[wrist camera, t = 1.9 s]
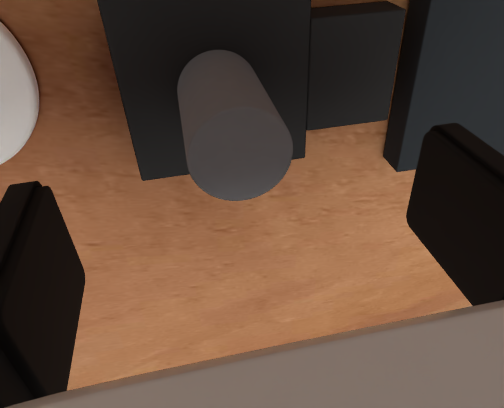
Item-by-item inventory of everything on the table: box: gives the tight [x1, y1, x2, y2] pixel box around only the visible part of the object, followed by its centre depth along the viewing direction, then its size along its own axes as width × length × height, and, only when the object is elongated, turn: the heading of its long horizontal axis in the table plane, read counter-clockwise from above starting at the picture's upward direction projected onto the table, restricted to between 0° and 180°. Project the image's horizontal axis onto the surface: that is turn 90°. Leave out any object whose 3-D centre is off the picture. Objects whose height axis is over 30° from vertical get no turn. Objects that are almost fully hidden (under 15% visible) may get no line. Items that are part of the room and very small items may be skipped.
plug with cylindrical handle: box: [97, 0, 406, 201], centre depth 14 cm, size 11×7×6 cm, turn 93°
